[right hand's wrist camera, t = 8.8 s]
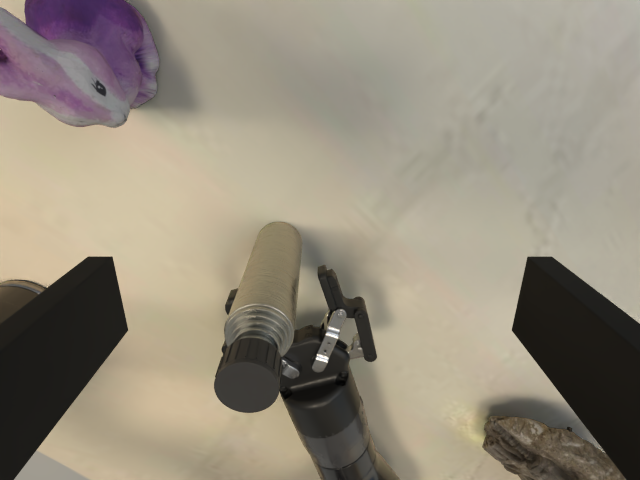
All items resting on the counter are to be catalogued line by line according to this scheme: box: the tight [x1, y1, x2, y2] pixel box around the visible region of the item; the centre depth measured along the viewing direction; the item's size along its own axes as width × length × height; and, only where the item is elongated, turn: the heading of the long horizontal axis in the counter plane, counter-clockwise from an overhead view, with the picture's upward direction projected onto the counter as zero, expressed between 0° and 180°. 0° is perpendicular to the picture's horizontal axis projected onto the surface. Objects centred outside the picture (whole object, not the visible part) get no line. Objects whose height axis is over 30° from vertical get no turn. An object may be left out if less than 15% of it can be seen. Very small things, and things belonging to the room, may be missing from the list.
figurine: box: [0, 0, 159, 128], centre depth 28 cm, size 9×10×15 cm
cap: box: [214, 337, 283, 413], centre depth 24 cm, size 4×4×2 cm
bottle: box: [224, 222, 302, 357], centre depth 33 cm, size 5×5×21 cm
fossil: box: [482, 416, 626, 480], centre depth 49 cm, size 22×10×15 cm
